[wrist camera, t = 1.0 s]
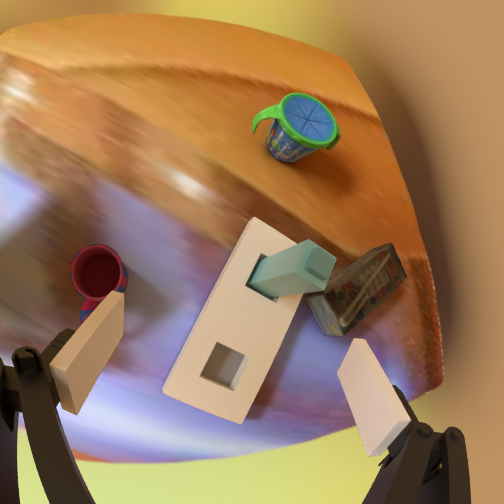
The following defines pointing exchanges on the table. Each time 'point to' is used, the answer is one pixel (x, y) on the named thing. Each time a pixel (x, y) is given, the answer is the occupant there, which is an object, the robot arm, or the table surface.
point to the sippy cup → (298, 127)
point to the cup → (97, 276)
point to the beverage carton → (357, 290)
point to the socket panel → (234, 333)
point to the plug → (293, 271)
